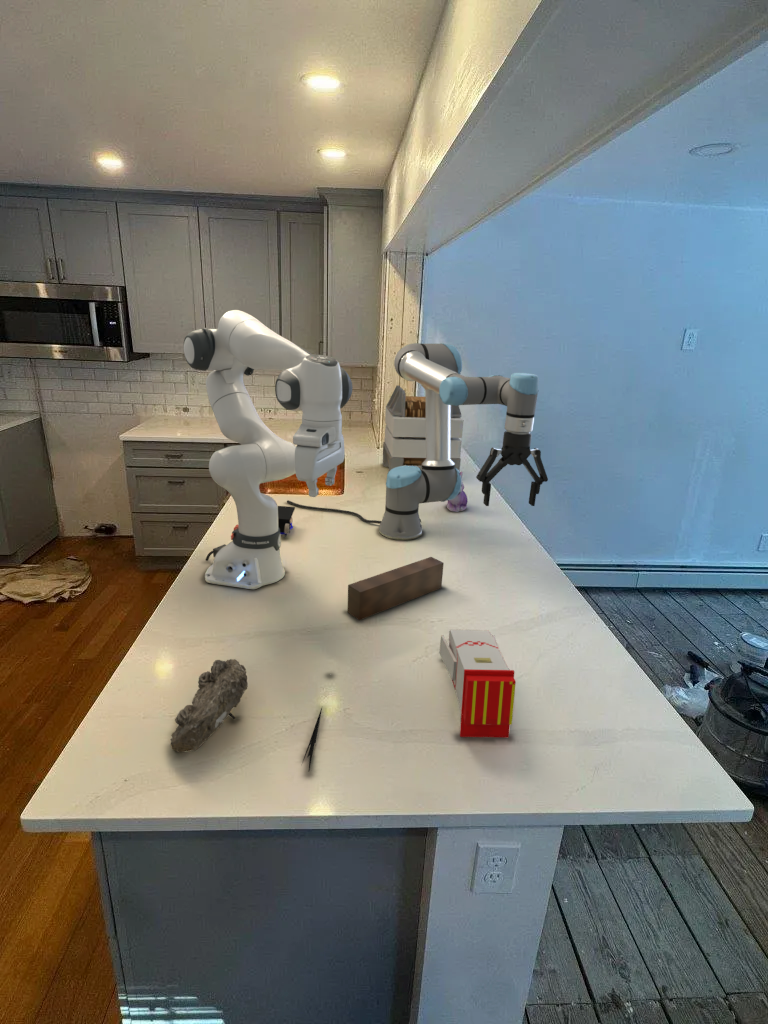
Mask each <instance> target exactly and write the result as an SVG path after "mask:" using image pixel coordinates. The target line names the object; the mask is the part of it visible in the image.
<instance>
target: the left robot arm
mask: <svg viewBox="0 0 768 1024" xmlns="http://www.w3.org/2000/svg"><path fill="white" fill-rule="evenodd" d="M183 355H184V359H185V361H186V363H187V364H188V365H189V367H190V368H192V369H193V370H197V371H203V372H206V371H210V372H209V373H208V374H207V375H206V379H205V389H206V394H207V397H208V398H207V399H208V402H209V405H210V407H211V411H212V412H213V415H214V418H215V420H216V422H217V425H218V428H219V430H220V432H221V434H222V435H223V436H224V437H225V438H226V439H228V440H230V441H233V442H236V443H237V445H230V446H227V447H223V448H221V449H218V450H216V451H214V452H213V453H212V455H211V457H210V459H209V462H208V471H209V475H210V477H211V479H212V480H213V482H215V484H216V485H218V486H219V487H221V488H222V489H224V490H225V491H227V492H228V494H229V495H230V496H231V497H232V499H233V501H234V504H235V507H236V514H237V524H236V525H235V526H234V527H233V530H232V532H231V535H230V540H231V541H230V542H229V543H227V544H224V543H223V544H222V545H218V546H217V547H214V548H212V550H211V551H209V553H208V554H206V555H207V556H206V557H205V562H209V559H210V558H211V556H212V557H213V561H212V564H210V566H209V567H208V568H207V570H206V572H205V573H204V580H205V582H206V583H207V584H208V583H209V584H214V585H220V586H228V587H233V588H234V587H235V588H241V589H248V590H256V589H259V588H261V587H263V586H267V585H272V584H275V583H276V582H279V581H281V580H283V578H284V577H285V575H286V571H285V568H284V565H283V560H282V556H281V545H282V541H281V539H282V537H281V534H280V528H279V527H278V506H279V505H278V503H277V502H276V500H275V499H274V498H273V497H272V496H270V495H268V494H265V493H263V492H261V490H260V485H261V484H264V483H270V482H275V481H281V480H285V479H287V478H289V477H291V476H294V475H295V476H296V479H297V481H300V482H305V484H306V486H307V489H308V496H309V497H310V498H316V497H318V495H319V491H320V489H319V487H318V486H317V483H318V479H319V478H320V477H322V476H323V475H325V474H326V477H325V478H324V482H325V483H324V484H325V486H327V487H328V486H329V487H332V486H333V485H335V477H336V473H337V471H338V466H340V465H341V464H342V463H344V461H345V457H346V454H345V451H346V450H345V438H344V437H345V436H344V435H343V415H342V411H341V409H342V408H344V407H345V406H346V405H347V403H348V402H349V401H350V399H351V397H352V393H353V389H354V388H353V382H352V379H351V377H350V375H349V373H348V371H346V370H345V369H344V368H343V367H342V366H341V365H340V362H339V361H338V360H337V359H336V358H334V357H332V356H330V355H324V354H317V353H316V354H313V353H312V352H310V351H309V350H307V349H306V348H304V347H302V346H300V345H298V344H296V343H295V342H293V341H291V340H289V339H287V338H285V337H283V336H282V335H280V334H278V333H277V332H275V331H274V330H272V329H271V328H269V327H267V326H266V325H265V324H263V322H262V321H260V320H259V319H257V318H256V317H254V316H253V315H251V314H249V313H247V312H245V311H244V310H243V311H242V310H239V309H232V310H228V311H226V312H225V313H224V314H222V316H221V317H220V319H219V321H218V324H217V328H208V327H204V328H200V329H195V330H192V331H189V332H188V333H187V334H186V336H185V337H184V340H183ZM255 370H256V371H275V372H276V371H278V372H280V373H279V374H278V376H277V378H276V380H275V385H274V391H275V398H276V400H277V402H278V403H279V405H280V406H281V407H282V408H283V409H285V410H287V411H292V412H302V414H301V423H300V424H299V427H298V429H297V430H296V431H295V432H294V433H293V435H292V442H291V441H288V440H286V439H283V438H282V437H281V436H279V435H278V434H276V433H275V432H273V431H272V430H271V429H270V428H269V427H268V426H267V425H266V424H265V423H264V421H263V420H262V418H261V416H260V415H259V413H258V411H257V409H256V407H255V405H254V402H253V400H252V398H251V396H250V393H249V392H248V390H247V387H246V385H245V382H244V375H245V376H247V377H248V376H249V377H250V376H251V375H253V374H254V371H255Z"/></svg>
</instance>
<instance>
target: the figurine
mask: <svg viewBox="0 0 768 1024" xmlns="http://www.w3.org/2000/svg"><path fill="white" fill-rule="evenodd" d="M460 475H461V488H460V491H459V493H458V495H457V496H456V497H455V498H454V499H452V500H447V504H446V508H447V509H448V510H449V511H450V512H463V511H465V510H466V509H467V506H468V496H467V494H466V492H465V491H464V489H465V485H464V482H463V471H460Z"/></svg>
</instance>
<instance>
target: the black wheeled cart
mask: <svg viewBox="0 0 768 1024" xmlns="http://www.w3.org/2000/svg"><path fill="white" fill-rule="evenodd" d="M295 509H296V506H287V505H286V506H285V505H278V527H279V528H280V534H281V535H284V536H283V538H284V539H286V538H287V535H288V534H290V533H291V530H292V529H293V528H294V526H293V515H294V512H295Z"/></svg>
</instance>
